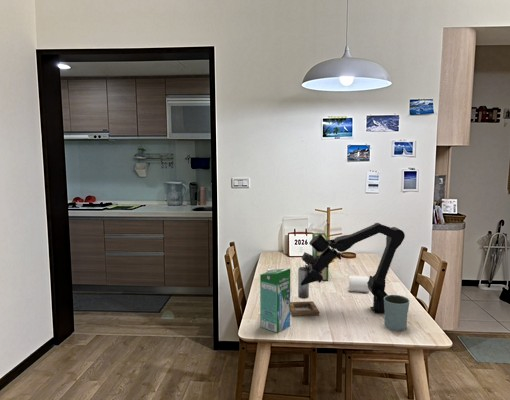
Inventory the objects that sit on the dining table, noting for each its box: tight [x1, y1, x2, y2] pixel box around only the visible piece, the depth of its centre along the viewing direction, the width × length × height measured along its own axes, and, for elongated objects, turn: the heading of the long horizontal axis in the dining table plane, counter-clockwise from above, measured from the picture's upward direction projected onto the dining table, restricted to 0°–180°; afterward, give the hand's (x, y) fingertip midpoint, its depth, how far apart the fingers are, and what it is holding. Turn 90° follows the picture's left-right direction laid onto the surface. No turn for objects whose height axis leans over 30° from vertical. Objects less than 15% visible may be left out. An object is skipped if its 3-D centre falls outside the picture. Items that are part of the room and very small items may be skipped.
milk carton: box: [259, 267, 291, 334], centre depth 166 cm, size 9×9×25 cm
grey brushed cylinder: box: [297, 266, 310, 300], centre depth 183 cm, size 5×5×14 cm
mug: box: [348, 275, 370, 293], centre depth 211 cm, size 12×10×8 cm
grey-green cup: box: [384, 294, 410, 332], centre depth 167 cm, size 10×10×12 cm
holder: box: [290, 300, 320, 318], centre depth 184 cm, size 12×12×2 cm
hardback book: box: [311, 232, 330, 282], centre depth 233 cm, size 18×7×24 cm, turn 177°
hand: (300, 282), depth 183 cm, fingers closed on grey brushed cylinder, 5 cm apart
